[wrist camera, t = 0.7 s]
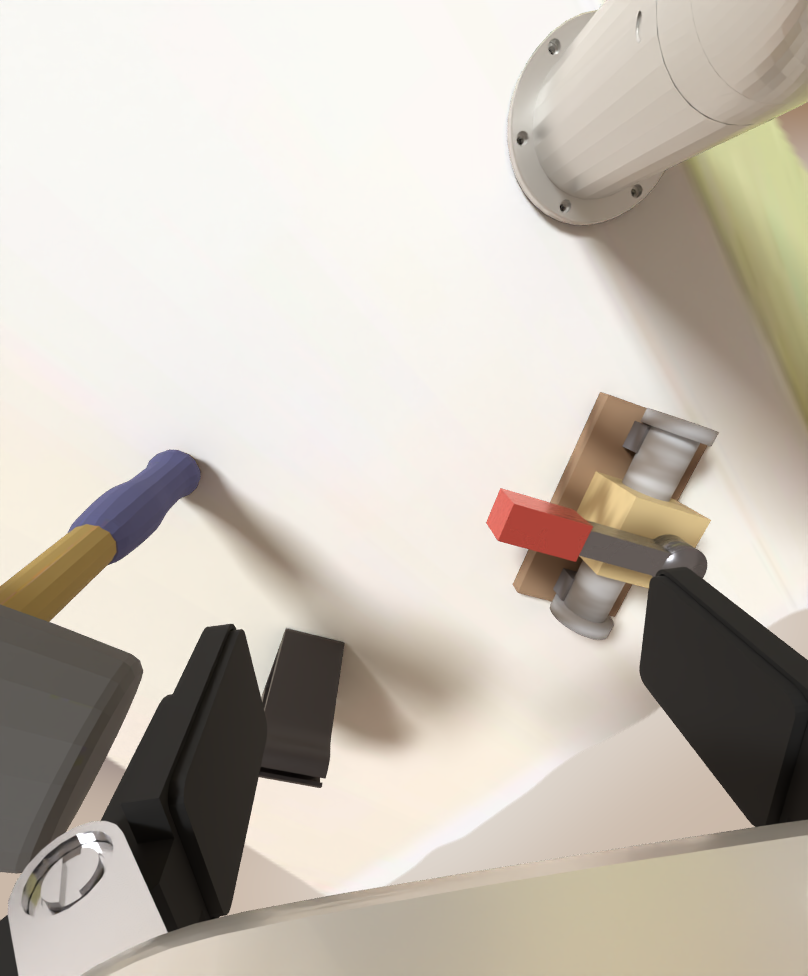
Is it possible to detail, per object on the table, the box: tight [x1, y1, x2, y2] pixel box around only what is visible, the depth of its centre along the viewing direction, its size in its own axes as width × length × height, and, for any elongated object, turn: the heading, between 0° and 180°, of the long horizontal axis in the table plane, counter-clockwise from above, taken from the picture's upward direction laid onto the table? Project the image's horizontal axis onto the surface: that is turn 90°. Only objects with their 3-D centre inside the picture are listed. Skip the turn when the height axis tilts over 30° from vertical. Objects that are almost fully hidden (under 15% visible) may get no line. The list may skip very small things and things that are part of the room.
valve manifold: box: [513, 392, 719, 640], centre depth 41 cm, size 20×11×9 cm, turn 162°
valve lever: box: [486, 488, 707, 578], centre depth 34 cm, size 16×4×3 cm, turn 72°
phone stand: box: [259, 629, 344, 788], centre depth 43 cm, size 9×6×12 cm, turn 159°
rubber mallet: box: [0, 450, 201, 873], centre depth 26 cm, size 12×8×30 cm, turn 63°
